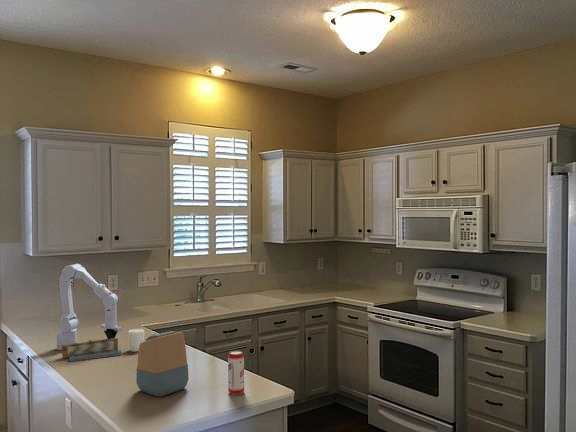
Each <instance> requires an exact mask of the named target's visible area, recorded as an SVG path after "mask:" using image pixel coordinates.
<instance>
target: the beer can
mask: <svg viewBox="0 0 576 432" xmlns="http://www.w3.org/2000/svg"><path fill="white" fill-rule="evenodd" d="M227 367H228V368H227V371H228V373H227V377H228V380H227V381H228V382H227V383H228V385H227V388H228V393H229V394H230V395H232V396H240V395H242V394H243V393H244V392H245V356H244V354H243V351H241V350H231V351H229V354H228V356H227ZM239 394H240V395H239Z"/></svg>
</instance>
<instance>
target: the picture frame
mask: <svg viewBox="0 0 576 432" xmlns="http://www.w3.org/2000/svg"><path fill="white" fill-rule="evenodd" d="M118 347H119V339H118V337H115V338H111V339H107V338H104V339H98V340H88V341H81V342H77V343H72V344H64V345H62V350H61V356H62V357H61V358H62V359H65V358H69V356H71V355H80V354H89V353H97V352H106V351H115V350H119V348H118Z"/></svg>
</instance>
